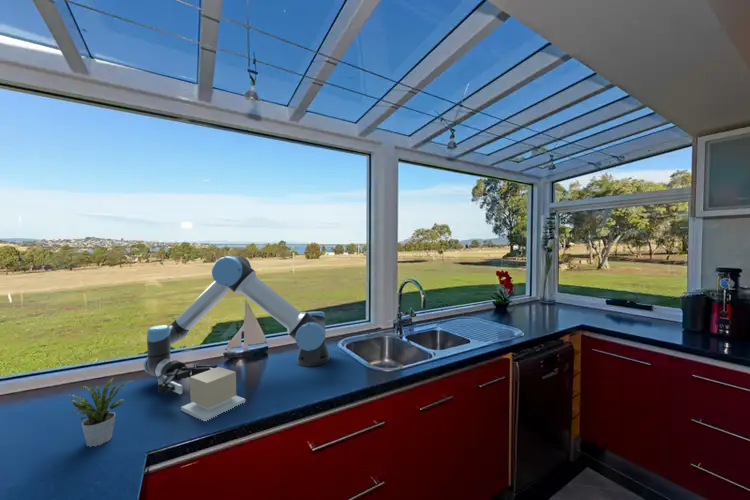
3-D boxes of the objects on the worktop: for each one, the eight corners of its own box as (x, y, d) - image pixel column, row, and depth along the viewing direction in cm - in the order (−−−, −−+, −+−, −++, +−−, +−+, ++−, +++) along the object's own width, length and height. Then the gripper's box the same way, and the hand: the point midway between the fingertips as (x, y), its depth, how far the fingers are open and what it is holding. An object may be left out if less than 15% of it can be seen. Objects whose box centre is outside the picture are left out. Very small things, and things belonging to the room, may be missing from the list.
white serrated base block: (221, 393, 114) (220, 365, 114) (245, 402, 106) (244, 372, 106) (181, 410, 102) (180, 379, 102) (205, 422, 94) (204, 388, 94)
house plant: (129, 418, 97) (128, 367, 97) (142, 434, 88) (141, 378, 88) (66, 441, 86) (64, 382, 86) (73, 462, 77) (72, 397, 77)
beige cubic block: (219, 388, 111) (218, 366, 111) (236, 395, 106) (235, 371, 106) (190, 400, 102) (190, 376, 102) (207, 408, 97) (207, 383, 97)
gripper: (204, 369, 129) (235, 379, 118) (132, 393, 108) (162, 408, 96) (203, 351, 129) (234, 359, 118) (132, 372, 108) (161, 385, 96)
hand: (202, 382), depth 107 cm, fingers open, 13 cm apart
